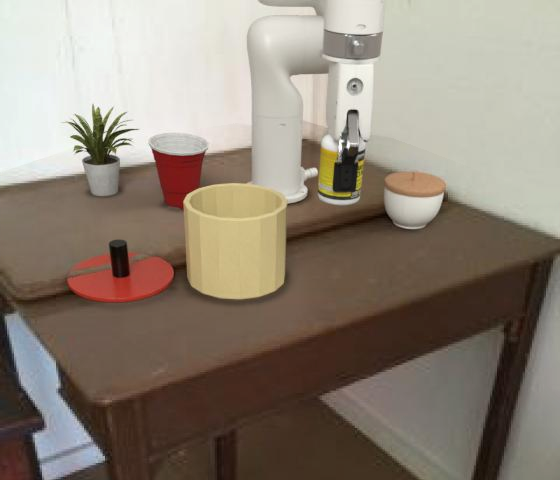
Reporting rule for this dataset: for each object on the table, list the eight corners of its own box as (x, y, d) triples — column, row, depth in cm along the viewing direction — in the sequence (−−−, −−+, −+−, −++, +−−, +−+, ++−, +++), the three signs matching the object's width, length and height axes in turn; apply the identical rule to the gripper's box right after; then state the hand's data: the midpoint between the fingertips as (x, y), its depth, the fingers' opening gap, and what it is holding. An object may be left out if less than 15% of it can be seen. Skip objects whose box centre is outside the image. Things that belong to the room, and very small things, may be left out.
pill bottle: (357, 209, 98) (365, 129, 92) (314, 204, 99) (319, 125, 93) (362, 193, 103) (370, 116, 97) (321, 188, 104) (326, 112, 98)
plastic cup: (186, 220, 126) (183, 153, 119) (140, 207, 131) (135, 141, 124) (222, 202, 134) (221, 138, 127) (177, 190, 138) (174, 128, 132)
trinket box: (445, 218, 130) (453, 168, 125) (430, 238, 122) (438, 186, 117) (390, 208, 134) (395, 159, 128) (372, 227, 125) (377, 175, 120)
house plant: (105, 212, 128) (94, 120, 119) (49, 197, 133) (34, 108, 124) (154, 190, 138) (147, 104, 129) (100, 177, 144) (90, 93, 135)
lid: (139, 251, 114) (136, 214, 111) (194, 285, 105) (192, 247, 101) (50, 277, 106) (43, 238, 102) (100, 317, 96) (95, 276, 93)
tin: (244, 251, 115) (244, 176, 108) (304, 283, 106) (308, 204, 99) (169, 275, 107) (164, 196, 100) (227, 312, 98) (225, 228, 91)
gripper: (394, 61, 83) (377, 205, 93) (368, 33, 97) (355, 161, 107) (332, 59, 82) (321, 205, 93) (314, 32, 96) (307, 161, 107)
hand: (340, 180), depth 100 cm, fingers closed on pill bottle, 6 cm apart
